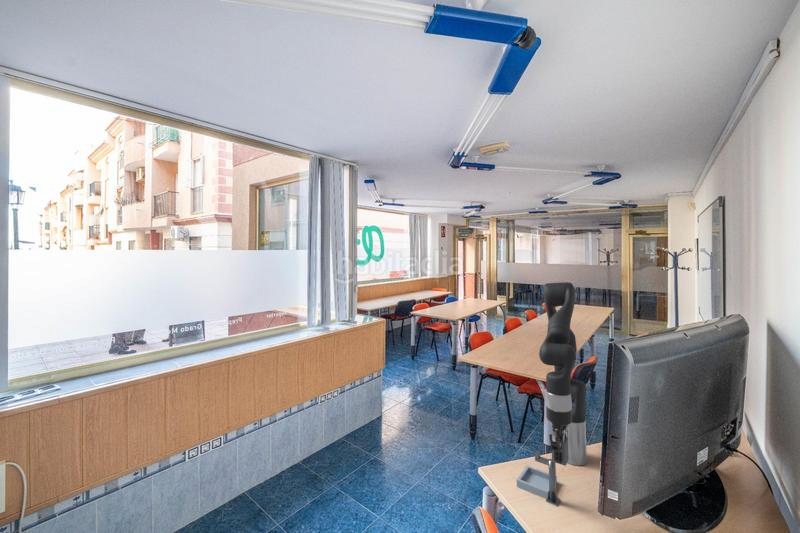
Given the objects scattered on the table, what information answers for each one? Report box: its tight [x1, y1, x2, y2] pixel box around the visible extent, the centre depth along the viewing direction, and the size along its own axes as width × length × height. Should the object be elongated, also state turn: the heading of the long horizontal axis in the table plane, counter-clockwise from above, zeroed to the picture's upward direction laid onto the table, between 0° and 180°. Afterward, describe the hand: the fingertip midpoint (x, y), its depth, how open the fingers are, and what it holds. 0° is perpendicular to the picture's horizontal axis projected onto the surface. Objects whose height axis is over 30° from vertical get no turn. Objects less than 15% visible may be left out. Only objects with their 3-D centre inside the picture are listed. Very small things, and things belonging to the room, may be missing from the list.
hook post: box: [534, 450, 561, 507], centre depth 115 cm, size 4×7×15 cm, turn 50°
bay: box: [516, 464, 558, 500], centre depth 123 cm, size 11×11×2 cm
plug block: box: [551, 438, 569, 467], centre depth 107 cm, size 4×4×9 cm
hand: (560, 458), depth 107 cm, fingers closed on plug block, 4 cm apart
